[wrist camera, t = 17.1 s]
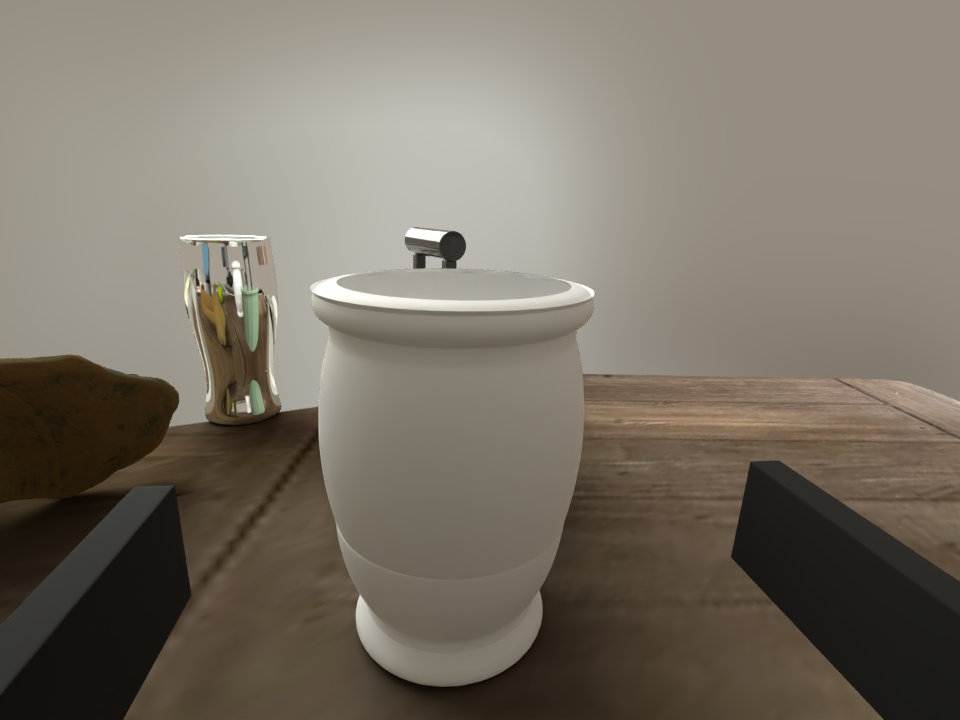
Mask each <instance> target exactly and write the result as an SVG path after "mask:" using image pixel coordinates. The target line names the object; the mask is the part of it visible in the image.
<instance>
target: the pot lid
mask: <svg viewBox="0 0 960 720" xmlns="http://www.w3.org/2000/svg"><path fill="white" fill-rule="evenodd" d="M405 244H406V246H407V248H408V250H409V251H411V252H413V253H416V254H414V255H413V261H414V262H413V269H425V256H429V257H434V258H438V259H442V260H443V261H442V268H443V269H456V261H457V260H459V259H460V258H461V257H462V256H463V255H464V253H465V250H466V242H465V240H464V238H463V236H462V235H461V234H460V233H458V232H456V231H448V230H438V229H429V228H419V227H415V228H412V229H410V230H409V231H408V232H407V234H406V236H405Z"/></svg>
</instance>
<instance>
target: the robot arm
mask: <svg viewBox="0 0 960 720" xmlns="http://www.w3.org/2000/svg"><path fill="white" fill-rule="evenodd" d="M731 558H732V559H733V560H734V561H735V562H736V563H737V564H738V565H739V566H740V567H741V568H742V569H743V570H744V571H745V572H746V573H747V575H748V576H749V577H750V578H751V579H752V580H753V581H754V582H755V583H756V584H757V585H758V586H759V587H760V588H761V589H762V590H763V592H764V593H765V594H766V595H767V596H768V597H769V598H770V599H771V600H772V601H773V602H774V603H775V604H776V605H777V606H778V607H779V608H780V610H781V611H782V612H783V613H784V614H785V615H786V616H787V617H788V618H789V619H790V620H791V621H792V622H793V623H794V624H795V625H796V627H797V628H798V629H799V630H800V631H801V632H802V633H803V634H804V635H805V636H806V637H807V638H808V639H809V640H810V641H811V642H812V644H813V645H814V646H815V647H816V648H817V649H818V650H819V651H820V652H821V653H822V654H823V655H824V656H825V657H826V658H827V659H828V661H829V662H830V663H831V664H832V665H833V666H834V667H835V668H836V669H837V670H838V671H839V672H840V673H841V674H842V675H843V676H844V678H845V679H846V680H847V681H848V682H849V683H850V684H851V685H852V686H853V687H854V688H855V689H856V690H857V691H858V692H859V693H860V695H861V696H862V697H863V698H864V699H865V700H866V701H867V702H868V703H869V704H870V705H871V706H872V707H873V708H874V709H875V710H876V712H877V713H878V714H879V715H880V716H881V717H882V718H883V719H884V720H960V581H958V580H956V579H955V578H953V577H952V576H950V575H949V574H947V573H946V572H944V571H943V570H941V569H940V568H938V567H937V566H935V565H934V564H932V563H931V562H929V561H928V560H926V559H925V558H923V557H922V556H920V555H919V554H917V553H916V552H914V551H913V550H911V549H910V548H908V547H907V546H906V545H904V544H903V543H901V542H900V541H898V540H897V539H895V538H894V537H892V536H891V535H889V534H888V533H886V532H885V531H883V530H882V529H880V528H879V527H877V526H876V525H874V524H873V523H871V522H870V521H868V520H867V519H865V518H864V517H862V516H861V515H859V514H858V513H856V512H855V511H853V510H852V509H850V508H849V507H847V506H846V505H844V504H843V503H841V502H840V501H838V500H837V499H835V498H834V497H832V496H831V495H829V494H828V493H826V492H825V491H823V490H822V489H820V488H819V487H817V486H816V485H814V484H813V483H811V482H810V481H808V480H807V479H806V478H804V477H803V476H801V475H800V474H798V473H797V472H795V471H794V470H792V469H791V468H789V467H788V466H786V465H785V464H783V463H782V462H780V461H756V462H750V467H749V472H748V477H747V482H746V487H745V492H744V496H743V501H742V506H741V511H740V516H739V521H738V526H737V531H736V536H735V540H734V545H733V550H732V555H731ZM190 597H191V590H190V583H189V577H188V570H187V564H186V557H185V550H184V544H183V537H182V530H181V524H180V517H179V511H178V504H177V497H176V491H175V485H166V486H141V487H134V488H133V489H132V490H131V491H130V492H129V493H128V494H127V495H126V496H125V497H124V498H123V499H122V500H121V501H120V502H119V503H118V504H117V505H116V506H115V507H114V508H113V509H112V510H111V511H110V512H109V514H108V515H107V516H106V517H105V518H104V519H103V520H102V521H101V522H100V523H99V524H98V525H97V526H96V527H95V528H94V529H93V530H92V531H91V532H90V533H89V534H88V535H87V536H86V537H85V538H84V539H83V540H82V541H81V542H80V543H79V544H78V546H77V547H76V548H75V549H74V550H73V551H72V552H71V553H70V554H69V555H68V556H67V557H66V558H65V559H64V560H63V561H62V562H61V563H60V564H59V565H58V566H57V567H56V568H55V569H54V570H53V571H52V572H51V573H50V574H49V575H48V576H47V578H46V579H45V580H44V581H43V582H42V583H41V584H40V585H39V586H38V587H37V588H36V589H35V590H34V591H33V592H32V593H31V594H30V595H29V596H28V597H27V598H26V599H25V600H24V601H23V602H22V603H21V604H20V605H19V606H18V607H17V609H16V610H15V611H14V612H13V613H12V614H11V615H10V616H9V617H8V618H7V619H6V620H5V621H4V622H3V623H2V624H1V625H0V720H123V719H124V717H125V715H126V713H127V711H128V710H129V708H130V706H131V704H132V702H133V701H134V699H135V697H136V695H137V693H138V691H139V690H140V688H141V686H142V684H143V682H144V681H145V679H146V677H147V675H148V673H149V671H150V670H151V668H152V666H153V664H154V662H155V660H156V659H157V657H158V655H159V653H160V651H161V650H162V648H163V646H164V644H165V642H166V640H167V639H168V637H169V635H170V633H171V631H172V630H173V628H174V626H175V624H176V622H177V620H178V619H179V617H180V615H181V613H182V611H183V609H184V608H185V606H186V604H187V602H188V600H189V599H190Z"/></svg>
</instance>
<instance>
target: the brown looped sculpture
mask: <svg viewBox="0 0 960 720" xmlns="http://www.w3.org/2000/svg"><path fill="white" fill-rule="evenodd" d="M178 404H179V394H178V392H177V391H176V390H175V388H174V387H173V386H171V385H170V384H169V383H167V382H166V381H164V380H162V379H159V378H152V377H141V376H138V375H136V374H124V373H122V372H119V371H114V370H112V369H108V368H106V367H102V366H100V365H98V364H95V363H93V362H91V361H89V360H87V359H85V358H83V357H81V356H78V355H61V356H51V357H36V358H12V359H11V358H6V359H0V503H3V502H7V501H12V500H19V499H34V498H53V499H65V498H68V497H71V496H74V495H76V494H78V493H81V492H83V491H85V490H87V489H89V488H92V487H94V486H95V485H97V484H99V483H101V482H103V481H104V480H106V479H107V478H108V477H109V476H110V475H112V474H113V473H114V472H116V471H117V470H120V469H123V468H125V467H127V466H130V465H132V464H133V463H135V462H137V461H138V460H140V459H142V458H143V457H145V456H146V455H148V454H149V453H151V452H152V451H153V450H155V449H156V448H157V447H158V446H159V445H160V443H161V441H162V440H163V438H164V436H165V434H166V431H167V429H168V427H169V423H170V420H171V418H172V415H173V413H174V412H175V410H176V409H177V407H178Z"/></svg>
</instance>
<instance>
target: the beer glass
mask: <svg viewBox="0 0 960 720" xmlns="http://www.w3.org/2000/svg"><path fill="white" fill-rule="evenodd" d="M179 239H180V251H181V252H180V253H181V276H182V286H183V294H184V300H185V306H186V310H187V314H188V318H189V321H190V325H191V328H192V331H193V334H194V337H195V340H196V343H197V346H198V349H199V352H200V355H201V358H202V361H203V365H204V368H205V374H206V381H207V395H206V407H205V416H206V418H207V419H208V420H209V421H210V422H212V423H215V424H220V425H244V424H250V423H255V422H259V421H263V420H266V419H268V418H271V417H273V416H275V415H276V414H277V413H278V412H279V411H280V410H281V402H280V398H279V394H278V391H277V388H276V384H275V380H274V372H273V355H274V344H275V336H276V326H277V311H278V296H277V282H276V273H275V267H274V261H273V255H272V249H271V242H270V238H269V237H262V236H240V235H196V236H182V237H180V238H179Z"/></svg>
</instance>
